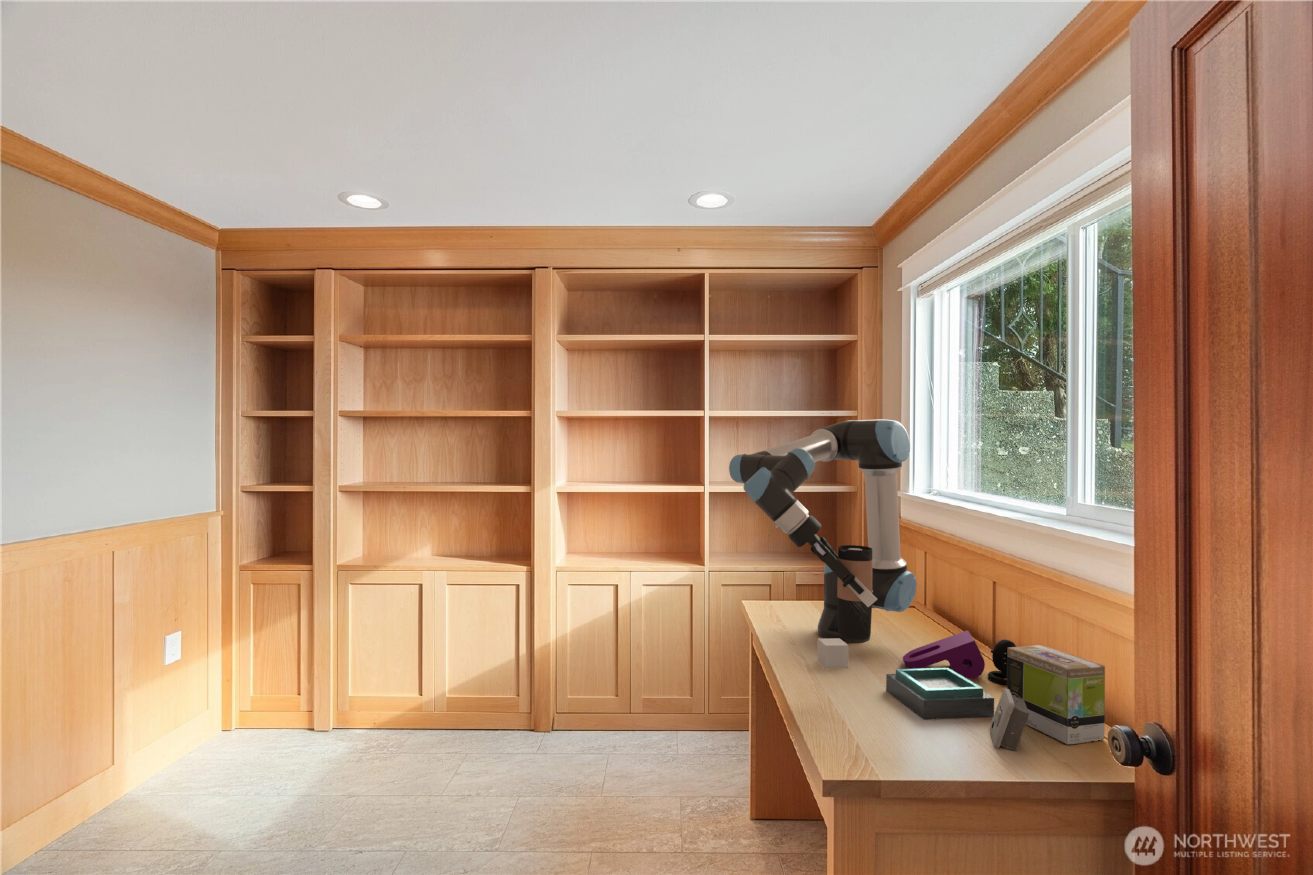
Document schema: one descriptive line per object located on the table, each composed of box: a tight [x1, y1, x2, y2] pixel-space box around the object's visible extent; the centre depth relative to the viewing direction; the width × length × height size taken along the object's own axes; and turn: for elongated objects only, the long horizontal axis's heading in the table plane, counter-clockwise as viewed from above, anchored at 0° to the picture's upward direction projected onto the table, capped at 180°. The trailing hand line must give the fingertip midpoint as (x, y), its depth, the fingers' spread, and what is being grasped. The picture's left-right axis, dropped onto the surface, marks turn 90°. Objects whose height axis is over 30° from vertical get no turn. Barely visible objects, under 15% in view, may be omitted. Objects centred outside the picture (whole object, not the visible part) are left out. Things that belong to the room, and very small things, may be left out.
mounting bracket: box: [902, 629, 986, 679], centre depth 168 cm, size 10×8×18 cm
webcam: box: [987, 639, 1017, 686], centre depth 161 cm, size 8×8×10 cm
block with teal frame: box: [885, 667, 995, 721], centre depth 146 cm, size 16×16×6 cm
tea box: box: [1006, 644, 1106, 745], centre depth 135 cm, size 15×10×15 cm, turn 17°
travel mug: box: [837, 544, 873, 641], centre depth 150 cm, size 8×8×20 cm
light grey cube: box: [816, 638, 849, 670], centre depth 171 cm, size 6×6×6 cm
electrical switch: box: [989, 687, 1029, 752], centre depth 127 cm, size 9×5×9 cm, turn 158°
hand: (870, 598), depth 149 cm, fingers closed on travel mug, 7 cm apart
